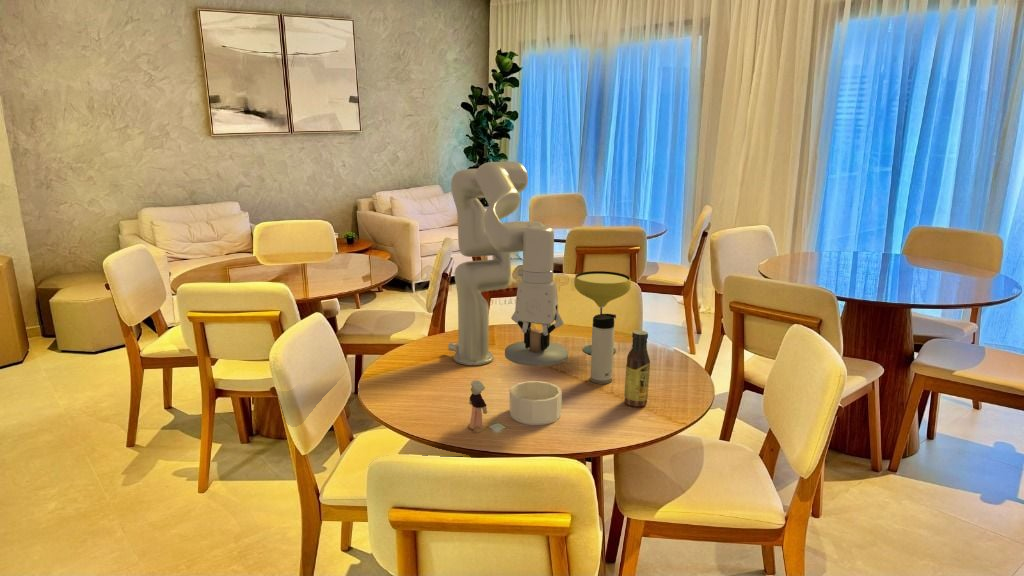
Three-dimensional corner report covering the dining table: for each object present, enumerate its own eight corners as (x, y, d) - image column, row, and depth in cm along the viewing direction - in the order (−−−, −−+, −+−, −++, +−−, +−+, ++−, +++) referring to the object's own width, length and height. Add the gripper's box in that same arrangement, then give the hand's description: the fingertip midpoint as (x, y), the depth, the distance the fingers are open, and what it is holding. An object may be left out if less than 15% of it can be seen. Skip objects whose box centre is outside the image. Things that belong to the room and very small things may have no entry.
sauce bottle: (642, 409, 175) (646, 338, 170) (620, 404, 178) (623, 333, 173) (651, 401, 180) (655, 331, 175) (629, 396, 183) (633, 327, 179)
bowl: (501, 419, 168) (502, 395, 167) (521, 400, 180) (522, 378, 178) (550, 429, 163) (550, 404, 162) (567, 409, 175) (568, 386, 173)
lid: (496, 362, 162) (496, 337, 161) (515, 342, 177) (515, 319, 176) (560, 369, 158) (560, 344, 156) (574, 348, 173) (574, 325, 171)
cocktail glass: (594, 338, 233) (597, 268, 227) (637, 350, 220) (642, 277, 214) (561, 350, 220) (563, 276, 214) (605, 364, 208) (608, 286, 202)
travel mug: (612, 385, 191) (615, 318, 186) (589, 383, 192) (592, 316, 188) (613, 377, 197) (616, 312, 192) (591, 375, 198) (593, 310, 194)
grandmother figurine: (460, 426, 164) (460, 378, 161) (472, 421, 167) (472, 374, 164) (481, 436, 159) (481, 387, 156) (493, 431, 162) (493, 383, 159)
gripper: (500, 276, 163) (500, 347, 167) (564, 283, 156) (562, 357, 161) (512, 270, 169) (512, 339, 174) (574, 276, 163) (572, 348, 167)
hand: (536, 347), depth 167 cm, fingers closed on lid, 3 cm apart
